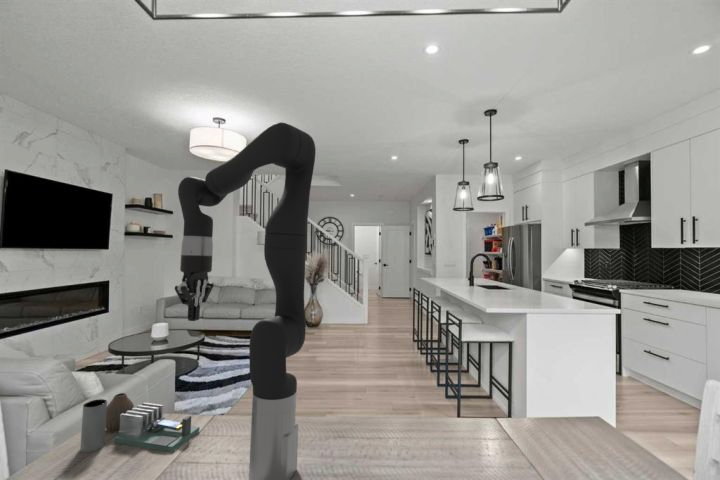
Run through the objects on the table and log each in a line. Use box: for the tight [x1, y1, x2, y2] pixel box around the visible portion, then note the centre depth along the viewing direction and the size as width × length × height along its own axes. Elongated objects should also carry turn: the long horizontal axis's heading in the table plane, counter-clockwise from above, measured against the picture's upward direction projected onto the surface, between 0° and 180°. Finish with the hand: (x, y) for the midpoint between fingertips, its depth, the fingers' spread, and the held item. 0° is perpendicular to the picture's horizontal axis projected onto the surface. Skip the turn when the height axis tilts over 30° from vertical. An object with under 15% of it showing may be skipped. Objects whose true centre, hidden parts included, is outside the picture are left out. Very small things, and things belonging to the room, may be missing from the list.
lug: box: [179, 415, 192, 436], centre depth 89 cm, size 2×2×4 cm
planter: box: [80, 398, 108, 453], centre depth 84 cm, size 4×4×10 cm
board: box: [113, 425, 201, 453], centre depth 89 cm, size 16×10×1 cm, turn 79°
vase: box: [105, 392, 135, 433], centre depth 93 cm, size 7×7×9 cm
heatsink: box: [117, 402, 165, 439], centre depth 90 cm, size 8×8×5 cm
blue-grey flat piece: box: [152, 416, 182, 431], centre depth 90 cm, size 7×3×1 cm, turn 78°
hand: (193, 320), depth 92 cm, fingers closed
